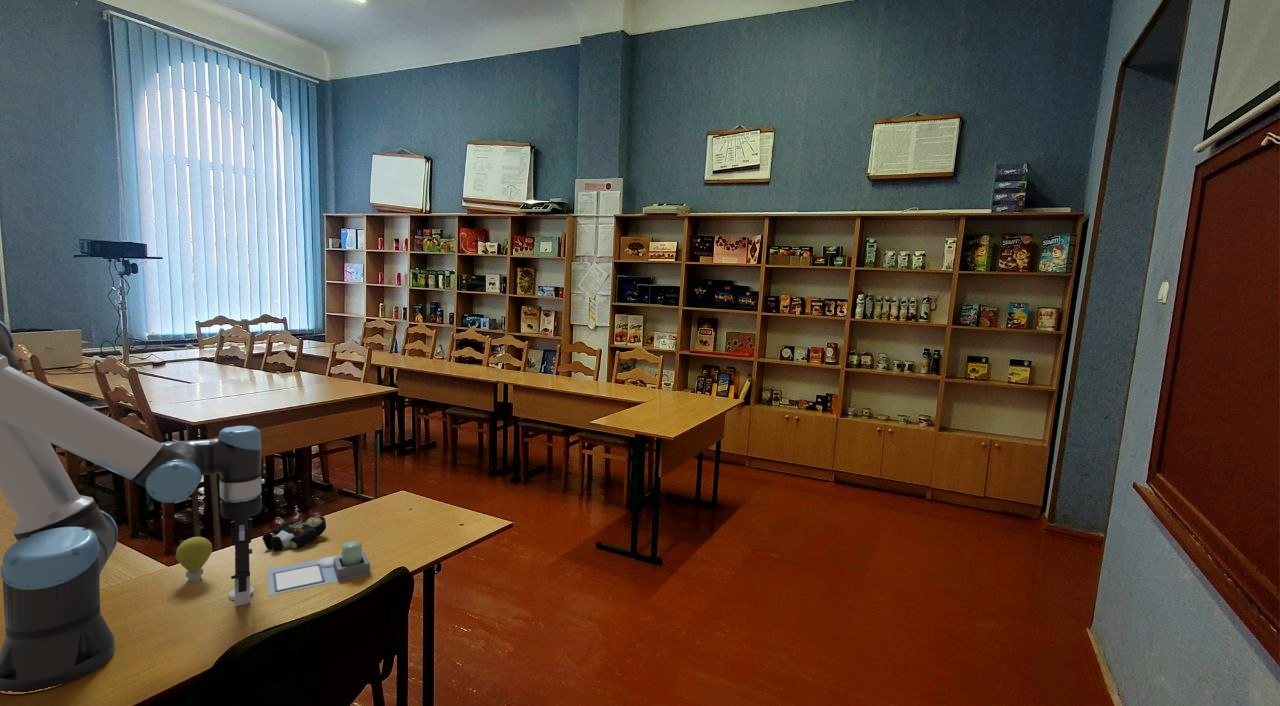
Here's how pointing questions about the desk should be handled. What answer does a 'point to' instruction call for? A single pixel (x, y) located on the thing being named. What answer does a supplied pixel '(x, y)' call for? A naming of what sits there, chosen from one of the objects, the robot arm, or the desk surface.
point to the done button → (351, 553)
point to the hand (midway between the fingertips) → (242, 593)
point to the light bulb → (194, 556)
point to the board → (314, 574)
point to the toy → (294, 534)
